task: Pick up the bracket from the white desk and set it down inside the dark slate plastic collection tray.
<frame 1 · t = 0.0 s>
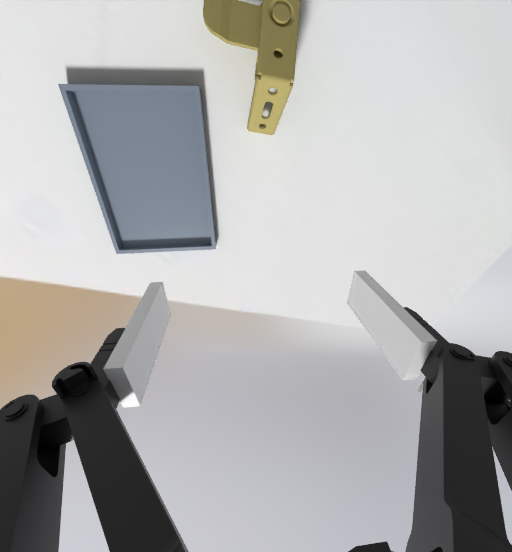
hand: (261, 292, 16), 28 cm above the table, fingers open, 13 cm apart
bracket: (246, 54, 31), on the table
tray: (155, 180, 37), on the table
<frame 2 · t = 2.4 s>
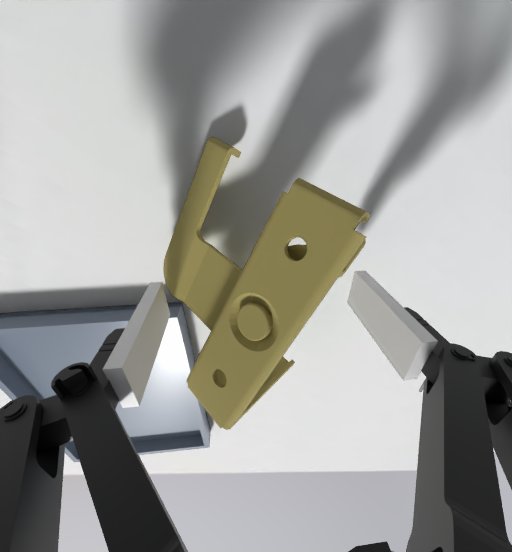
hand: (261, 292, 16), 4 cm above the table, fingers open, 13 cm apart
bracket: (268, 272, 18), point 1 cm above the table, touching gripper
tray: (121, 388, 26), on the table
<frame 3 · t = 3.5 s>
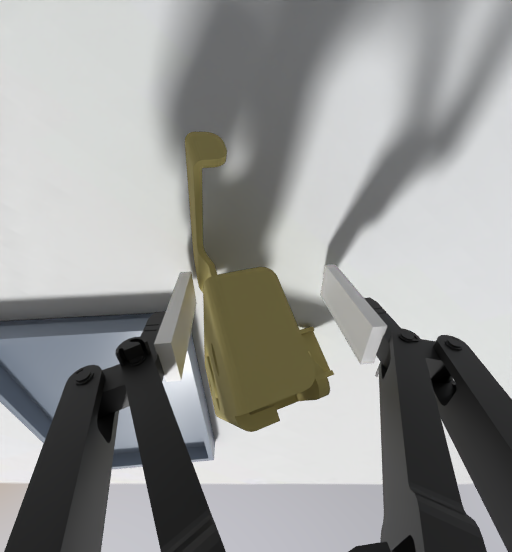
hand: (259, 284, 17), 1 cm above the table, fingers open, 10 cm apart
bracket: (298, 290, 14), point 4 cm above the table, touching gripper
tray: (123, 398, 25), on the table
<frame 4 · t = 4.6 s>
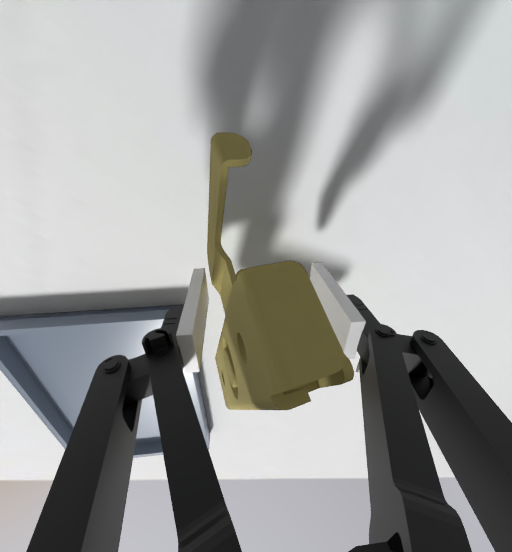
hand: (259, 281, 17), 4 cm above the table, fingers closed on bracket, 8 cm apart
bracket: (310, 287, 15), point 7 cm above the table, touching gripper
tray: (126, 388, 27), on the table
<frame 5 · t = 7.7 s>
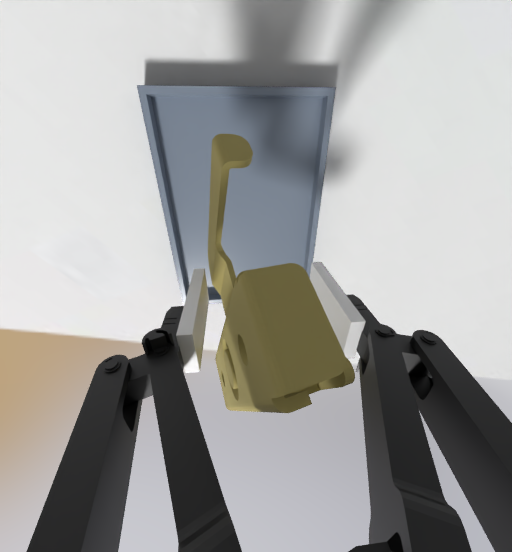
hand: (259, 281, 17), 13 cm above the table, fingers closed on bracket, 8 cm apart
bracket: (310, 288, 15), point 16 cm above the table, touching gripper
tray: (243, 213, 28), on the table
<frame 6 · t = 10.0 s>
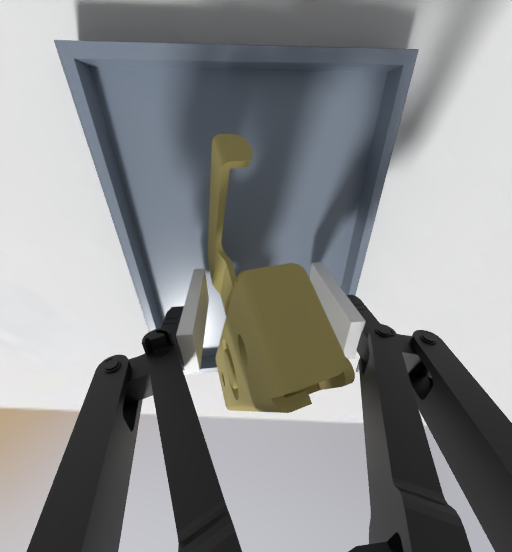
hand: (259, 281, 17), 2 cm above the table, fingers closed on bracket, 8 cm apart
bracket: (310, 288, 15), point 5 cm above the table, touching gripper
tray: (249, 251, 19), on the table
when the fingers open (2 cm above the table, at t = 11.1 s): bracket drops 3 cm, resting on tray.
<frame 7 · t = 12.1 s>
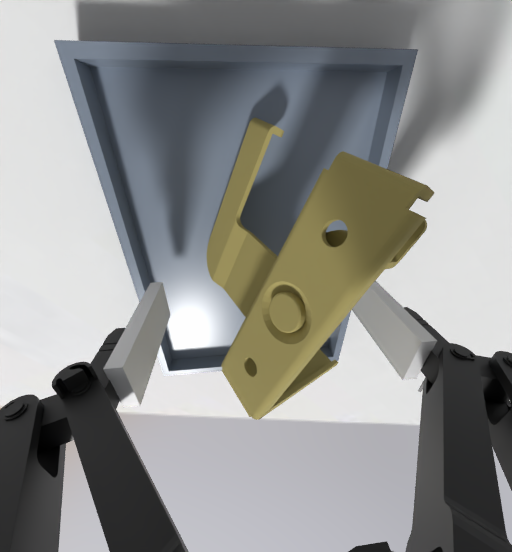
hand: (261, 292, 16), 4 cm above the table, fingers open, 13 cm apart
bracket: (312, 263, 17), point 2 cm above the table, touching tray
tray: (249, 251, 19), on the table
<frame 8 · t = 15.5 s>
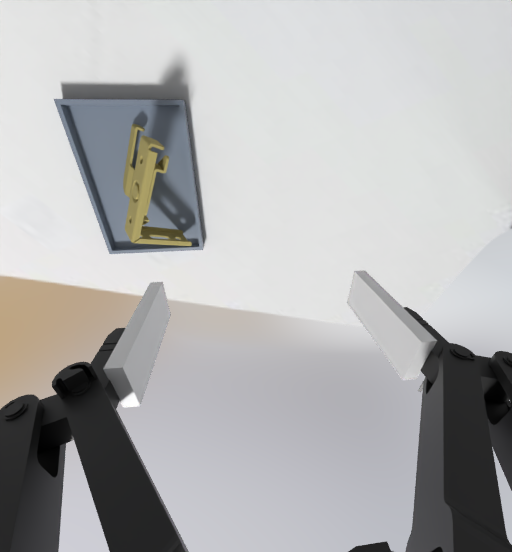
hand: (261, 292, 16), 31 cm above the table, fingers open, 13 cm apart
bracket: (170, 188, 38), point 2 cm above the table, touching tray
tray: (145, 185, 40), on the table
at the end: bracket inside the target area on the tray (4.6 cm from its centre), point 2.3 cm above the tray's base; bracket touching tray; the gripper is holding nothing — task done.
